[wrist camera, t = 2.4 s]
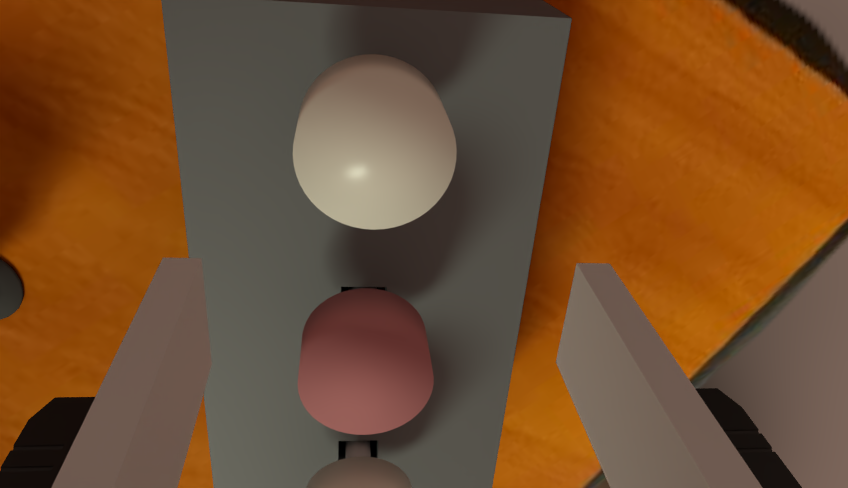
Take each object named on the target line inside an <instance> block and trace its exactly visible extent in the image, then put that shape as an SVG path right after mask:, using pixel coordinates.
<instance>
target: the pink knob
mask: <svg viewBox="0 0 848 488" xmlns="http://www.w3.org/2000/svg"><path fill="white" fill-rule="evenodd" d="M433 384H434V376H433V369H432V364H431V358H430V352H429V347H428V341H427V335H426V329H425V325H424V322H423V320H422V318H421V316H420V314H419V313H418V312H417V310H416V309H415V308H414V307H413V306H412V305H411V304H410V303H409V302H408V301H406V300H405V299H403V298H402V297H400V296H398V295H396V294H393V293H391V292H388V291H384V290H379V289H377V288H376V287H349V290H348V291H344V292H341V293H338V294H336V295H334V296H332V297H330V298H328V299H326V300H325V301H324V302H322V303H321V304H320V305H319V306H318V307H317V308H315V310H314V311H313V312H312V313H311V314H310V316H309V318H308V319H307V321H306V324H305V326H304V329H303V334H302V343H301V353H300V364H299V374H298V392H299V396H300V399H301V401H302V403H303V405H304V407H305V408H306V410H307V411H308V412H309V413H310V415H311V416H312V417H313V418H315V419H316V420H317V421H318V422H320V423H322V424H323V425H325V426H327V427H329V428H331V429H333V430H336V431H339V432H343V433H348V434H355V435H369V434H377V433H382V432H386V431H390V430H392V429H395V428H398V427H400V426H402V425H403V424H405V423H407V422H408V421H410V420H411V419H413V418H414V417H415V416H416V415H417V414H418V413H419V412H420V411H421V410H422V409H423V408H424V406H425V405H426V404H427V402H428V400H429V398H430V395H431V393H432V389H433Z"/></svg>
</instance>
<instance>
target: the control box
mask: <svg viewBox="0 0 848 488" xmlns="http://www.w3.org/2000/svg"><path fill="white" fill-rule="evenodd" d="M161 1H162V10H163V19H164V29H165V38H166V47H167V57H168V66H169V75H170V85H171V94H172V103H173V113H174V122H175V131H176V140H177V150H178V159H179V168H180V178H181V187H182V196H183V206H184V215H185V224H186V234H187V243H188V252H189V258H202V268H203V279H204V289H205V299H206V309H207V320H208V330H209V340H210V351H211V361H212V365H211V369H210V372H209V376H208V379H207V383H206V387H205V390H204V401H205V410H206V420H207V429H208V438H209V448H210V457H211V466H212V475H213V485H214V488H306V487H307V485H308V482H309V481H310V479H311V478H312V477H313V476H314V475H315V474H316V473H317V472H318V471H319V470H320V469H322V468H323V467H325V466H326V465H328V464H330V463H332V462H335V461H338V460H341V459H345V455H346V441H366V440H370V452H371V457H374V458H379V459H383V460H386V461H388V462H390V463H393V464H394V465H396V466H397V467H399V468H400V469H401V470H402V471H403V472H404V473H405V474H406V475H407V477H408V478H409V480H410V483H411V486H412V488H492V484H493V478H494V472H495V466H496V460H497V454H498V449H499V443H500V437H501V431H502V425H503V419H504V413H505V408H506V402H507V396H508V390H509V384H510V378H511V372H512V367H513V361H514V355H515V349H516V343H517V337H518V331H519V326H520V320H521V314H522V308H523V302H524V296H525V290H526V285H527V279H528V273H529V267H530V261H531V255H532V249H533V244H534V238H535V232H536V226H537V220H538V214H539V208H540V202H541V197H542V191H543V185H544V179H545V173H546V167H547V161H548V156H549V150H550V144H551V138H552V132H553V126H554V120H555V115H556V109H557V103H558V97H559V91H560V85H561V79H562V74H563V68H564V62H565V56H566V50H567V44H568V38H569V33H570V27H571V21H572V18H570V17H569V16H567V15H566V14H564V13H562V12H561V11H559V10H558V9H556V8H554V7H553V6H551V5H549V4H548V3H546V2H545V1H543V0H161ZM365 54H378V55H386V56H390V57H394V58H397V59H399V60H402V61H404V62H406V63H408V64H410V65H412V66H413V67H415V68H416V69H417V70H419V71H420V72H421V73H422V74H423V75H424V76H425V77H426V78H427V79H428V80H429V81H430V82H431V84H432V85H433V86H434V88H435V90H436V91H437V93H438V95H439V97H440V100H441V102H442V104H443V107H444V109H445V111H446V114H447V116H448V118H449V121H450V123H451V126H452V128H453V131H454V135H455V139H456V148H457V154H456V164H455V170H454V173H453V176H452V179H451V181H450V183H449V186H448V188H447V189H446V191H445V192H444V194H443V196H442V197H441V198H440V199H439V200H438V202H437V203H436V204H435V205H434V206H433V207H432V208H431V209H430V210H429V211H427V212H426V213H424V214H423V215H422V216H420V217H418V218H417V219H415V220H413V221H411V222H409V223H406V224H404V225H401V226H397V227H393V228H388V229H376V230H371V229H361V228H356V227H351V226H348V225H345V224H342V223H340V222H338V221H336V220H334V219H332V218H331V217H329V216H327V215H326V214H324V213H323V212H322V211H321V210H319V209H318V208H317V207H316V206H315V205H314V204H313V203H312V202H311V201H310V199H309V198H308V197H307V195H306V194H305V193H304V191H303V189H302V187H301V185H300V184H299V181H298V178H297V176H296V172H295V168H294V163H293V143H294V137H295V132H296V127H297V122H298V118H299V113H300V108H301V105H302V102H303V99H304V97H305V95H306V93H307V91H308V89H309V87H310V86H311V85H312V83H313V82H314V81H315V79H316V78H317V77H318V76H319V75H320V74H321V73H322V72H324V71H325V70H326V69H327V68H329V67H330V66H332V65H334V64H335V63H337V62H339V61H342V60H344V59H346V58H350V57H353V56H358V55H365ZM341 287H385V291H388V292H391V293H393V294H396V295H398V296H400V297H402V298H403V299H405V300H406V301H408V302H409V303H410V304H411V305H412V306H413V307H414V308H415V309H416V310H417V312H418V313H419V314H420V316H421V318H422V320H423V322H424V325H425V329H426V335H427V341H428V347H429V352H430V358H431V364H432V369H433V376H434V384H433V389H432V393H431V395H430V398H429V400H428V402H427V404H426V405H425V406H424V408H423V409H422V410H421V411H420V412H419V413H418V414H417V415H416V416H415V417H414V418H413V419H411V420H410V421H408V422H407V423H405V424H403V425H402V426H400V427H398V428H395V429H392V430H390V431H386V432H382V433H377V434H369V435H355V434H348V433H343V432H339V431H336V430H333V429H331V428H329V427H327V426H325V425H323V424H322V423H320V422H318V421H317V420H316V419H315V418H313V417H312V416H311V415H310V413H309V412H308V411H307V410H306V408H305V407H304V405H303V403H302V401H301V399H300V396H299V392H298V374H299V364H300V353H301V343H302V334H303V329H304V326H305V324H306V321H307V319H308V318H309V316H310V314H311V313H312V312H313V311H314V310H315V308H317V307H318V306H319V305H320V304H321V303H322V302H324V301H325V300H326V299H328V298H330V297H332V296H334V295H336V294H338V293H341Z"/></svg>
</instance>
